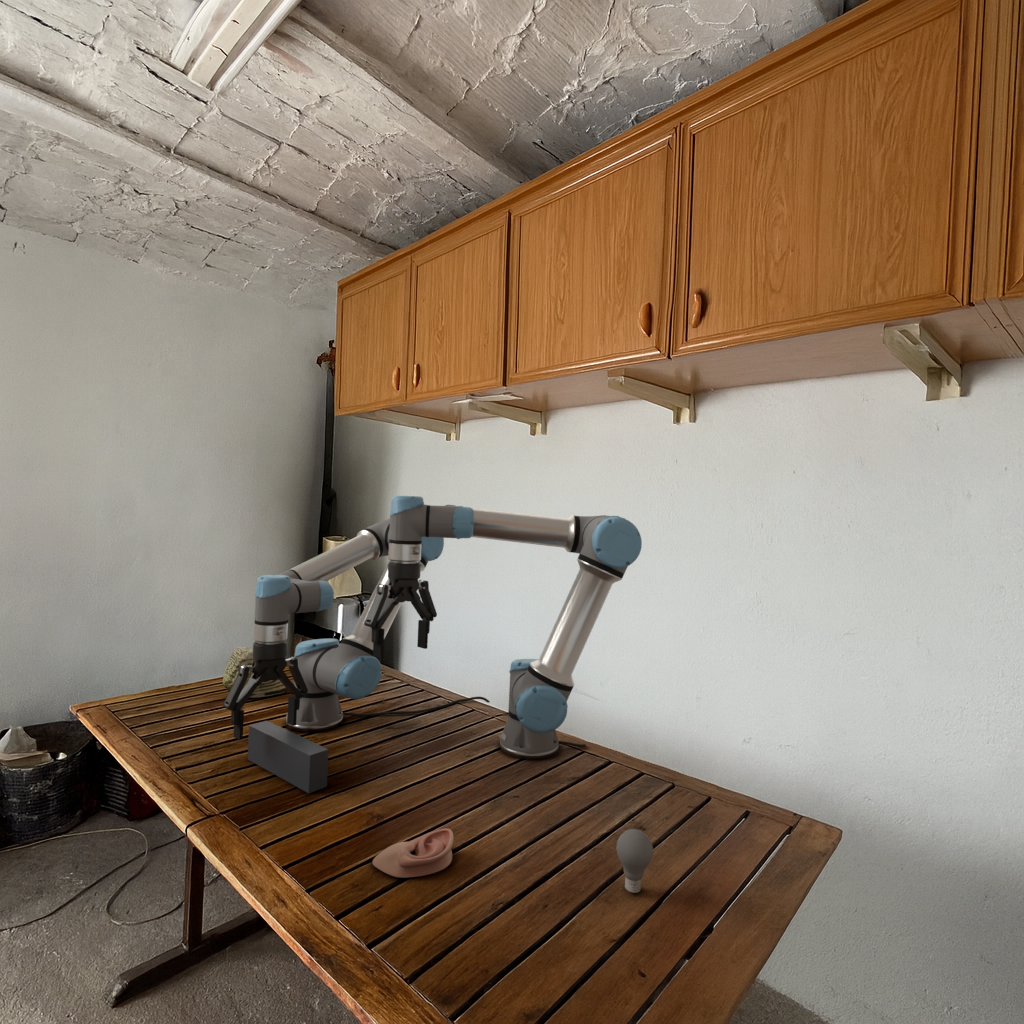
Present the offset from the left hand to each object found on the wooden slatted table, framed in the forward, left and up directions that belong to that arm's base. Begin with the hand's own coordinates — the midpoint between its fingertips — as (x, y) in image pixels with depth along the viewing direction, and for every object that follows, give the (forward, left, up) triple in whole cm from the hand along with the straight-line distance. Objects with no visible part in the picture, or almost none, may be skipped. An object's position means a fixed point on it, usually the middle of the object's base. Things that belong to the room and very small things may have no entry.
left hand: (265, 731), depth 149 cm
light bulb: (-15, +89, -8) cm, 90 cm away
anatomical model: (+4, +56, -8) cm, 56 cm away
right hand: (-19, +25, +20) cm, 37 cm away
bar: (0, +8, -8) cm, 11 cm away
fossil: (-24, -48, -8) cm, 54 cm away
